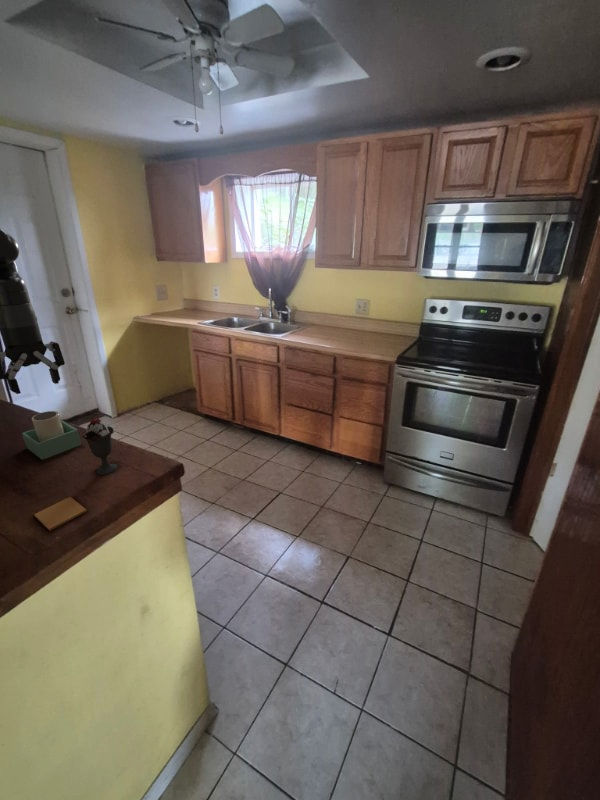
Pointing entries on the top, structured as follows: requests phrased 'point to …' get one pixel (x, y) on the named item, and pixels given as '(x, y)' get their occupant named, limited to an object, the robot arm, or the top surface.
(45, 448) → the bin
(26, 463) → the top surface
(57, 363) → the robot arm
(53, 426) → the coffee cup
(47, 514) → the coaster
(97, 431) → the sundae
